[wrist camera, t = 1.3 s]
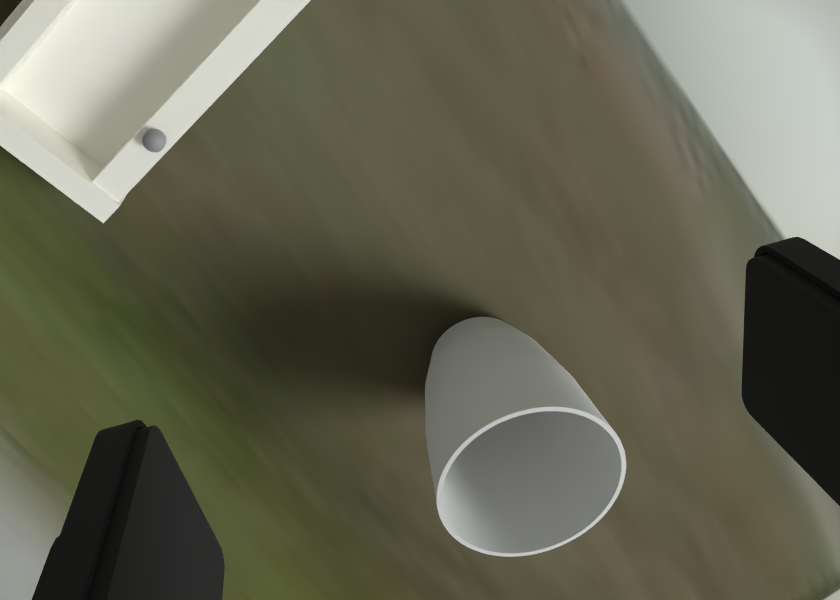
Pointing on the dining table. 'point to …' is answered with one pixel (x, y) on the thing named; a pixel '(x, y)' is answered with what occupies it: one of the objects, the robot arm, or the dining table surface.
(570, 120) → the dining table surface
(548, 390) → the cup
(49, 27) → the white pegged tray
